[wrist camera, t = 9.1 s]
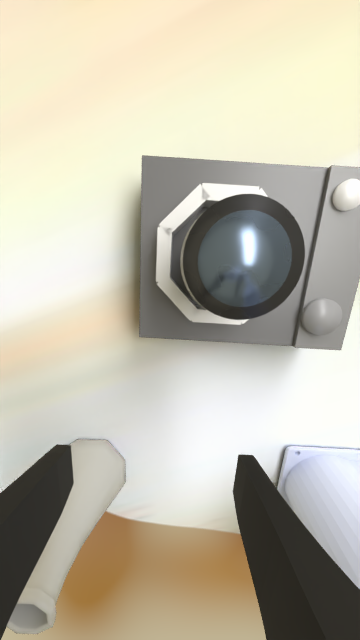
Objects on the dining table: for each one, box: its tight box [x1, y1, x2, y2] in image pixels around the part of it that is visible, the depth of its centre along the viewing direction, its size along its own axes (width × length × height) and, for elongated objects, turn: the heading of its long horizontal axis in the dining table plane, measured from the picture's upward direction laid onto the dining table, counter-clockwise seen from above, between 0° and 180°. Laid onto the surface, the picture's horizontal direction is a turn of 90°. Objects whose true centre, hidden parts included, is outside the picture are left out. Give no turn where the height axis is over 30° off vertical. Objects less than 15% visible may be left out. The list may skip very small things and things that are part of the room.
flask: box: [6, 439, 126, 634], centre depth 17 cm, size 7×7×10 cm
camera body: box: [139, 155, 360, 350], centre depth 15 cm, size 14×11×5 cm
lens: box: [180, 194, 305, 320], centre depth 11 cm, size 5×5×6 cm
